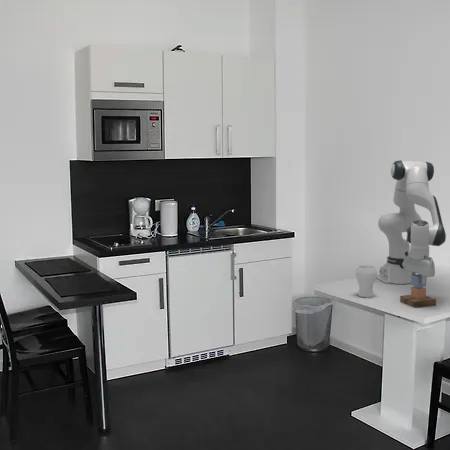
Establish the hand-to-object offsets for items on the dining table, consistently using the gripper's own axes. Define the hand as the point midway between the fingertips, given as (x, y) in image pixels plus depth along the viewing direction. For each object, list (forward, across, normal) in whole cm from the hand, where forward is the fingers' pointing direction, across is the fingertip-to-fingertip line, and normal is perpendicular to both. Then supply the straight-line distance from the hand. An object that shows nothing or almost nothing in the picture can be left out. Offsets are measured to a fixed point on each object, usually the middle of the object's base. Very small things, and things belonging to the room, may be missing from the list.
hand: (418, 282), depth 300 cm
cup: (+11, +23, +15) cm, 29 cm away
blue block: (+2, 0, 0) cm, 2 cm away
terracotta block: (+8, 0, 0) cm, 8 cm away
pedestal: (+11, 0, 0) cm, 11 cm away
